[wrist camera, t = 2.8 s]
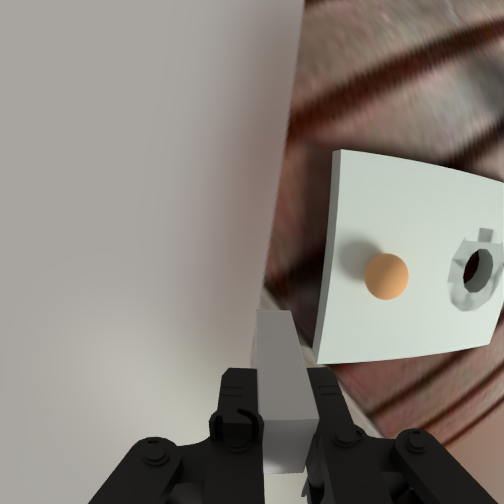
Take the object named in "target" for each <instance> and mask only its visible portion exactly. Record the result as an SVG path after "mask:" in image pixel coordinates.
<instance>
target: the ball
mask: <svg viewBox="0 0 504 504" xmlns="http://www.w3.org/2000/svg"><path fill="white" fill-rule="evenodd" d="M364 279H365V284H366V287H367V289H368V290H369V292H370V293H371V294H372V295H373V296H375V297H376V298H379V299H382V300H390V299H394V298H396V297H398V296H399V295H400V294H401V293H402V292H403V291H404V290H405V288H406V286H407V284H408V279H409V274H408V269H407V266H406V264H405V263H404V261H403V260H402V259H401V258H399V257H398V256H396V255H394V254H389V253H385V254H380V255H378V256H376V257H374V258H373V259H372V260H371V261H370V262H369V264H368V265H367V267H366V270H365V275H364Z"/></svg>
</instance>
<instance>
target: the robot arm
mask: <svg viewBox="0 0 504 504" xmlns="http://www.w3.org/2000/svg"><path fill="white" fill-rule="evenodd" d="M209 430H210V436H209V437H208V438H207V439H205V440H204V441H202V442H199V443H196V444H191V445H184V446H176V444H175V443H174V442H172V441H170V440H168V439H166V438H161V437H148V438H145V439H142V440H139V441H138V442H137V443H136V444H135V445H133V446H132V448H131V449H130V450H129V452H128V453H127V454H126V455H125V457H124V458H123V459H122V461H121V462H120V463H119V465H118V466H117V467H116V469H115V470H114V471H113V472H112V474H111V475H110V476H109V477H108V479H107V480H106V481H105V483H104V484H103V485H102V486H101V488H100V489H99V490H98V491H97V493H96V494H95V495H94V496H93V498H92V499H91V501H90V502H89V503H88V504H265V498H264V474H285V473H303V472H304V469H305V466H306V468H307V474H308V476H307V479H306V482H305V485H304V488H303V490H302V495H301V497H305V495H307V502H308V504H498V503H497V502H496V501H495V500H494V499H493V498H492V497H491V496H490V495H489V494H488V493H487V492H486V490H485V489H484V488H483V487H482V486H481V485H480V484H479V483H478V482H477V481H476V480H475V479H474V478H473V477H472V476H471V475H470V474H469V473H468V472H467V471H466V470H465V469H464V468H463V467H462V466H461V465H460V463H459V462H458V461H457V460H456V459H455V458H454V457H453V456H452V455H451V454H450V453H449V452H448V451H447V450H446V449H445V448H444V447H443V446H442V445H441V444H440V443H439V442H438V441H437V440H436V439H435V438H434V437H433V436H432V435H431V434H430V433H428V432H427V431H425V430H422V429H415V428H411V429H407V430H404V431H402V432H401V433H400V434H398V436H397V438H396V439H384V438H375V437H370V436H368V435H367V434H366V433H365V431H364V430H363V429H362V428H360V427H359V426H357V425H354V423H353V420H352V418H351V415H350V412H349V410H348V407H347V404H346V402H345V399H344V396H343V395H342V391H341V389H340V387H339V383H338V381H337V378H336V376H335V375H334V374H333V373H332V372H331V371H330V370H329V369H328V368H327V367H320V368H306V365H305V361H304V358H303V354H302V350H301V347H300V343H299V339H298V336H297V332H296V328H295V325H294V321H293V318H292V314H291V311H281V310H256V329H255V348H254V369H249V368H228V369H227V371H226V372H225V373H224V374H223V375H222V379H221V387H220V393H219V400H218V408H217V411H216V412H214V413H213V414H212V415H211V418H210V420H209Z"/></svg>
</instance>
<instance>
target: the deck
mask: <svg viewBox="0 0 504 504" xmlns="http://www.w3.org/2000/svg"><path fill="white" fill-rule="evenodd" d="M477 250H478V253H479V264H478V268H477V271H476V272H475V274H474V276H473V277H472V279H471V280H469V281H468V282H466V283H465V284H464V282H463V274H464V269H465V265H466V263H467V261H468V260H469V258H470V256H471V255H472V254H473V253H474V252H476V251H477ZM385 253H389V254H394V255H396V256H398V257H399V258H401V259H402V260H403V261H404V263H405V264H406V266H407V269H408V274H409V279H408V284H407V286H406V288H405V290H404V291H403V292H402V293H401V294H400V295H399V296H398V297H396V298H394V299H390V300H382V299H379V298H376V297H375V296H373V295H372V294H371V293H370V292H369V290H368V289H367V287H366V284H365V279H364V275H365V270H366V267H367V265H368V264H369V262H370V261H371V260H372V259H373V258H374V257H376V256H378V255H380V254H385ZM503 301H504V183H502V182H499V181H496V180H492V179H489V178H485V177H482V176H478V175H474V174H471V173H467V172H463V171H459V170H455V169H450V168H446V167H442V166H437V165H433V164H428V163H423V162H418V161H413V160H408V159H402V158H397V157H391V156H385V155H379V154H372V153H365V152H358V151H351V150H343V149H341V150H337V151H333V152H332V173H331V189H330V204H329V217H328V228H327V239H326V249H325V259H324V268H323V277H322V285H321V293H320V300H319V308H318V315H317V322H316V329H315V335H314V341H313V348H312V350H313V353H314V356H315V359H316V363H317V364H329V363H350V362H366V361H378V360H389V359H399V358H408V357H416V356H424V355H431V354H438V353H444V352H451V351H457V350H462V349H468V348H473V347H478V346H483V345H488V344H489V343H490V340H491V337H492V335H493V332H494V329H495V326H496V323H497V320H498V317H499V314H500V311H501V308H502V304H503Z"/></svg>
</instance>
